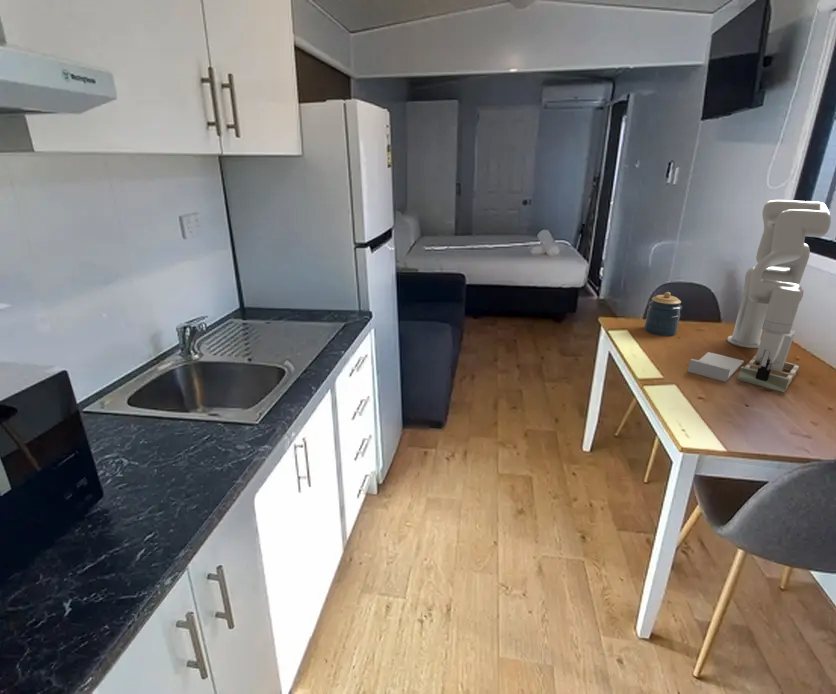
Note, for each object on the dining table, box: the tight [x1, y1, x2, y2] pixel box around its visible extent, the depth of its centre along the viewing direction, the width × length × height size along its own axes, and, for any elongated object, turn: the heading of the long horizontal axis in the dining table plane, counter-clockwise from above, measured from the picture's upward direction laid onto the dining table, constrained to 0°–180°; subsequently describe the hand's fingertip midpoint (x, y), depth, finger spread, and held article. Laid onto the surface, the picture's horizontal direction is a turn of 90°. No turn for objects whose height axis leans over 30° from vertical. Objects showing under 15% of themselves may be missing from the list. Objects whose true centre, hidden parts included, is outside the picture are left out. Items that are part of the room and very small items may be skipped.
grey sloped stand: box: [687, 351, 745, 383], centre depth 176 cm, size 24×12×4 cm, turn 136°
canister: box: [644, 291, 683, 337], centre depth 210 cm, size 13×13×18 cm
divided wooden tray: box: [737, 354, 800, 393], centre depth 170 cm, size 24×13×4 cm, turn 136°
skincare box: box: [770, 329, 796, 372], centre depth 171 cm, size 8×7×16 cm
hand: (761, 379), depth 160 cm, fingers closed
